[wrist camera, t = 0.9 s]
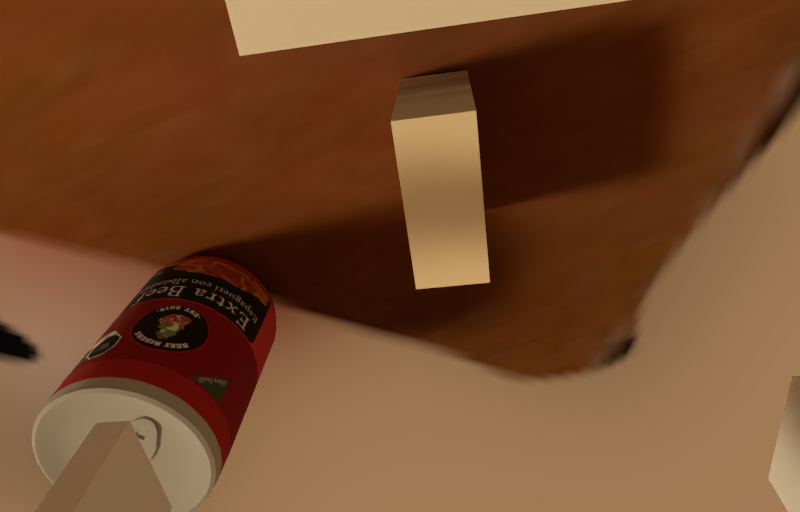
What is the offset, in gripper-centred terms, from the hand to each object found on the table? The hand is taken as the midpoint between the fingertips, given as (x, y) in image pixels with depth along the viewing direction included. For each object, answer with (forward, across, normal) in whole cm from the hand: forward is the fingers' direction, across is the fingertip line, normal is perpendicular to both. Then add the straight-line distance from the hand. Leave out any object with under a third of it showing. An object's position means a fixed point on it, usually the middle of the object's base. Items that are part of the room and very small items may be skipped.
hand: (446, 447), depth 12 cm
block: (+19, 0, 0) cm, 19 cm away
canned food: (+19, -14, -8) cm, 25 cm away
